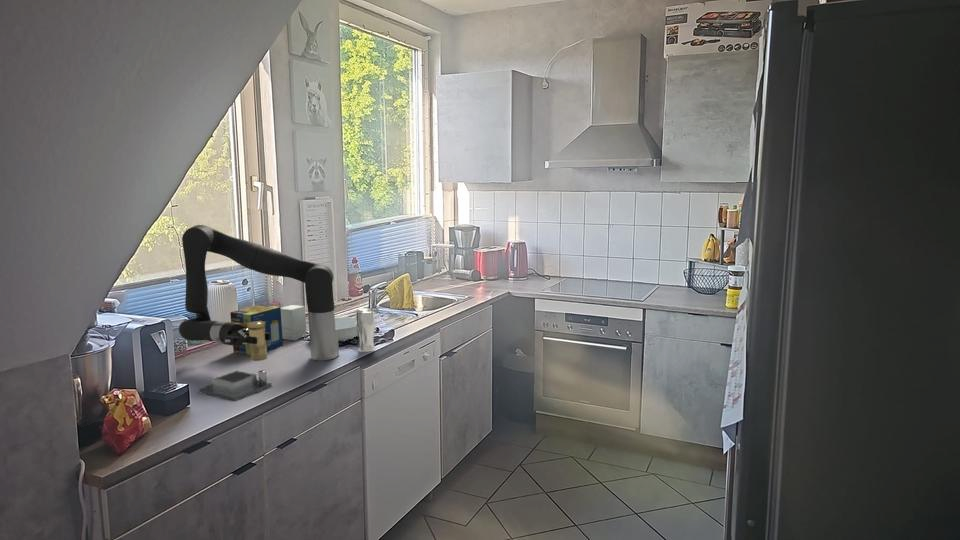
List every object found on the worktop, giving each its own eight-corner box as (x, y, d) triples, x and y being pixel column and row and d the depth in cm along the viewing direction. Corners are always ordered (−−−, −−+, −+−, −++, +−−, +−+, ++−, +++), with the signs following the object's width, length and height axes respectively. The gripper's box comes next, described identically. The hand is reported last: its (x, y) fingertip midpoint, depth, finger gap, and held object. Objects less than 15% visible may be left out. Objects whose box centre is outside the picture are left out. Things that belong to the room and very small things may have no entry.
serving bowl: (370, 332, 264) (370, 316, 263) (356, 347, 244) (355, 329, 243) (321, 332, 266) (320, 316, 265) (303, 346, 246) (302, 329, 245)
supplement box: (307, 336, 260) (305, 306, 258) (293, 341, 254) (291, 309, 252) (294, 334, 264) (292, 304, 262) (280, 338, 257) (278, 307, 255)
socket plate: (236, 378, 209) (235, 364, 208) (271, 386, 201) (270, 371, 200) (199, 392, 197) (197, 376, 196) (234, 400, 189) (233, 384, 188)
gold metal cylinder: (260, 355, 214) (256, 320, 212) (272, 357, 211) (268, 321, 209) (246, 360, 209) (243, 324, 207) (258, 362, 206) (255, 325, 204)
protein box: (232, 352, 239) (229, 312, 236) (264, 342, 252) (261, 303, 250) (253, 356, 234) (249, 314, 232) (284, 345, 248) (281, 306, 245)
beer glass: (353, 350, 239) (351, 310, 237) (368, 346, 244) (367, 307, 242) (364, 353, 234) (362, 313, 232) (379, 349, 239) (377, 310, 237)
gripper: (208, 327, 209) (244, 332, 201) (243, 317, 221) (279, 322, 213) (210, 349, 210) (246, 356, 202) (245, 338, 223) (281, 344, 214)
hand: (263, 338), depth 208 cm, fingers closed on gold metal cylinder, 5 cm apart
